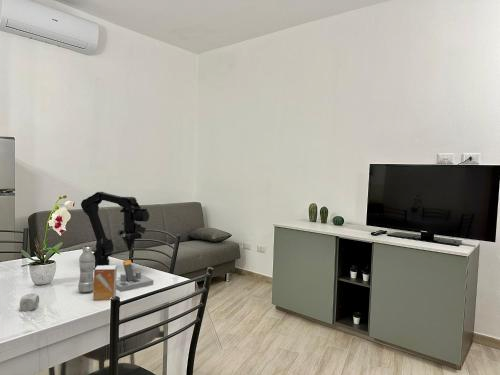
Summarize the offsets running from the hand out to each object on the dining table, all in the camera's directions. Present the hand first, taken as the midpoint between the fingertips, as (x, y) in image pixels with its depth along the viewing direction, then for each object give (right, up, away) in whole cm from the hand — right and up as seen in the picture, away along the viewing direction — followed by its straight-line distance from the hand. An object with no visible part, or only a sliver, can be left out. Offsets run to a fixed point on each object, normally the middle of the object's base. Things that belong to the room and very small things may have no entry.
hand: (129, 250), depth 183 cm
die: (-20, -13, -51) cm, 57 cm away
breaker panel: (+7, -13, -19) cm, 24 cm away
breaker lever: (+7, -11, -19) cm, 23 cm away
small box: (+3, -14, -37) cm, 39 cm away
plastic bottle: (-8, -13, -31) cm, 35 cm away
